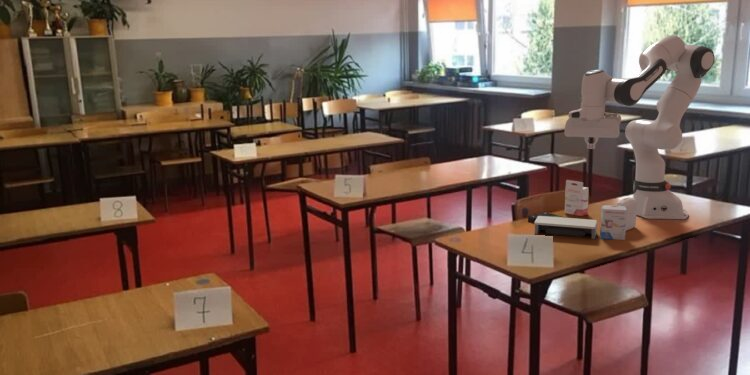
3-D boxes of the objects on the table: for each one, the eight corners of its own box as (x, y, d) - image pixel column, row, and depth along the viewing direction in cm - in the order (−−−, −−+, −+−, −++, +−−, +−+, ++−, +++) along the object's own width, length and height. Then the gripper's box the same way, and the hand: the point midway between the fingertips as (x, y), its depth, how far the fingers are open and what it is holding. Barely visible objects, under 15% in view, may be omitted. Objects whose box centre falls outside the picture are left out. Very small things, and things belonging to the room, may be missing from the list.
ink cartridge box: (588, 214, 269) (589, 180, 266) (582, 216, 266) (583, 182, 262) (570, 210, 275) (571, 177, 272) (563, 213, 272) (565, 179, 269)
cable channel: (596, 233, 243) (596, 222, 242) (594, 239, 236) (595, 227, 235) (537, 228, 252) (538, 217, 251) (534, 234, 245) (535, 223, 244)
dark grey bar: (586, 232, 242) (586, 227, 240) (585, 238, 240) (585, 234, 238) (545, 229, 247) (545, 224, 245) (544, 235, 246) (544, 230, 244)
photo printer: (623, 232, 243) (624, 201, 240) (612, 230, 246) (614, 199, 243) (637, 227, 249) (639, 196, 246) (627, 225, 252) (628, 194, 250)
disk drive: (527, 222, 263) (555, 230, 250) (527, 216, 262) (555, 223, 250) (544, 218, 268) (572, 225, 256) (544, 211, 268) (573, 218, 255)
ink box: (600, 239, 237) (602, 208, 234) (599, 235, 241) (601, 204, 239) (625, 240, 234) (627, 209, 232) (623, 236, 239) (625, 205, 236)
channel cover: (596, 222, 242) (597, 220, 242) (595, 229, 234) (595, 226, 234) (538, 217, 251) (538, 215, 251) (534, 224, 242) (534, 222, 242)
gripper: (621, 112, 242) (619, 148, 245) (566, 111, 250) (565, 146, 253) (621, 114, 237) (619, 150, 240) (564, 113, 245) (563, 149, 248)
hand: (591, 148), depth 247 cm, fingers closed
